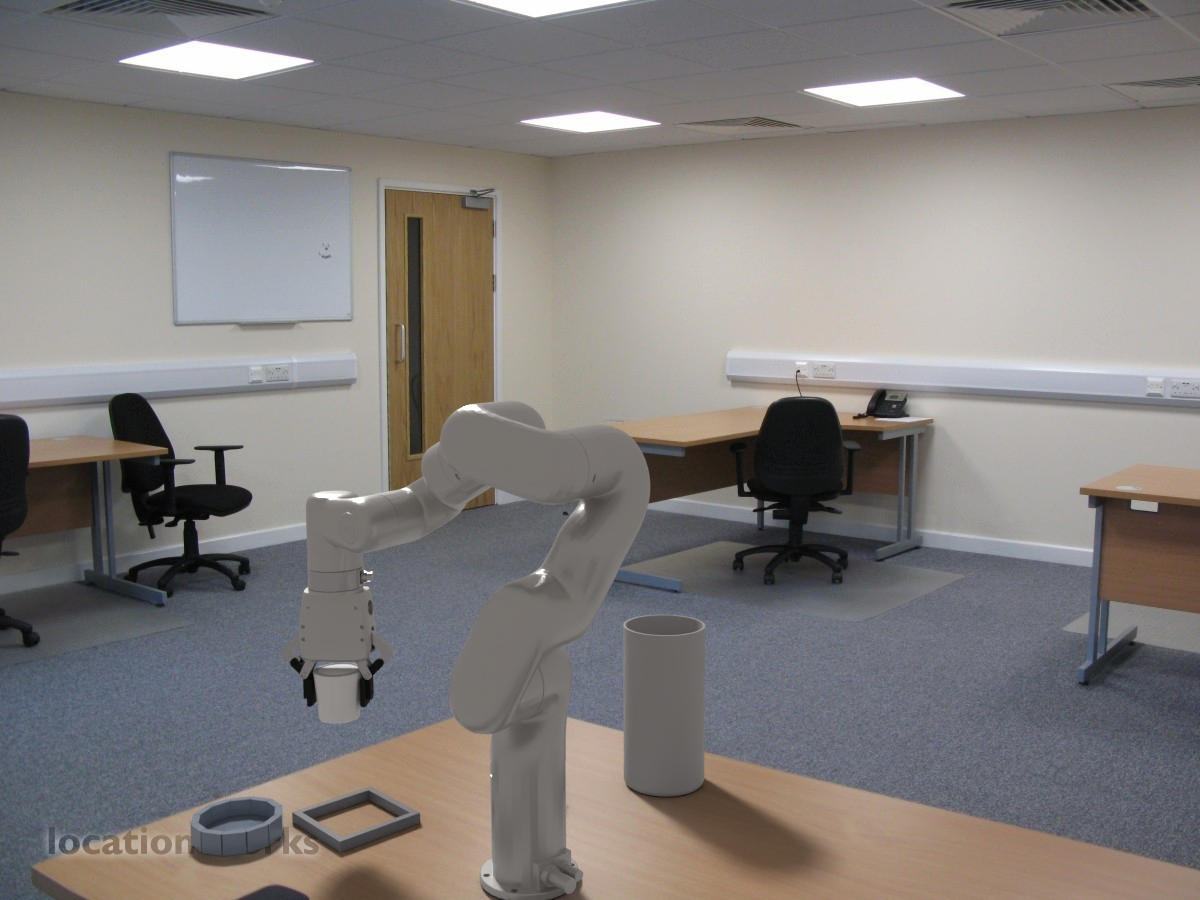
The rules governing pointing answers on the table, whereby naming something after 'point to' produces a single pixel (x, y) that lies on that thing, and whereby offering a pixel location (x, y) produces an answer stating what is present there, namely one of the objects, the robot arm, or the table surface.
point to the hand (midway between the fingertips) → (338, 702)
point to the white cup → (338, 692)
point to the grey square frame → (405, 820)
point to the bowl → (237, 826)
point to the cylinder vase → (664, 704)
